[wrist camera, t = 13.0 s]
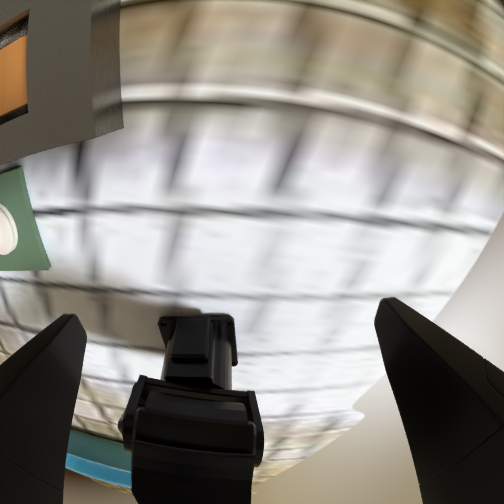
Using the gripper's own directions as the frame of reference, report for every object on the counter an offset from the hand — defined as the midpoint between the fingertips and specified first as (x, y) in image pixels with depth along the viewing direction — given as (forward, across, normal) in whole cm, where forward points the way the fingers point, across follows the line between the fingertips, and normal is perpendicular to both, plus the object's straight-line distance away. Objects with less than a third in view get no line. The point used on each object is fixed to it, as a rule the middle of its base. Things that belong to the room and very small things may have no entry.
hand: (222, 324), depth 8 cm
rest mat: (+12, +21, +1) cm, 24 cm away
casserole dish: (+12, +32, +52) cm, 62 cm away
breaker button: (+11, +14, -11) cm, 21 cm away
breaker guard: (+12, +14, -11) cm, 22 cm away
